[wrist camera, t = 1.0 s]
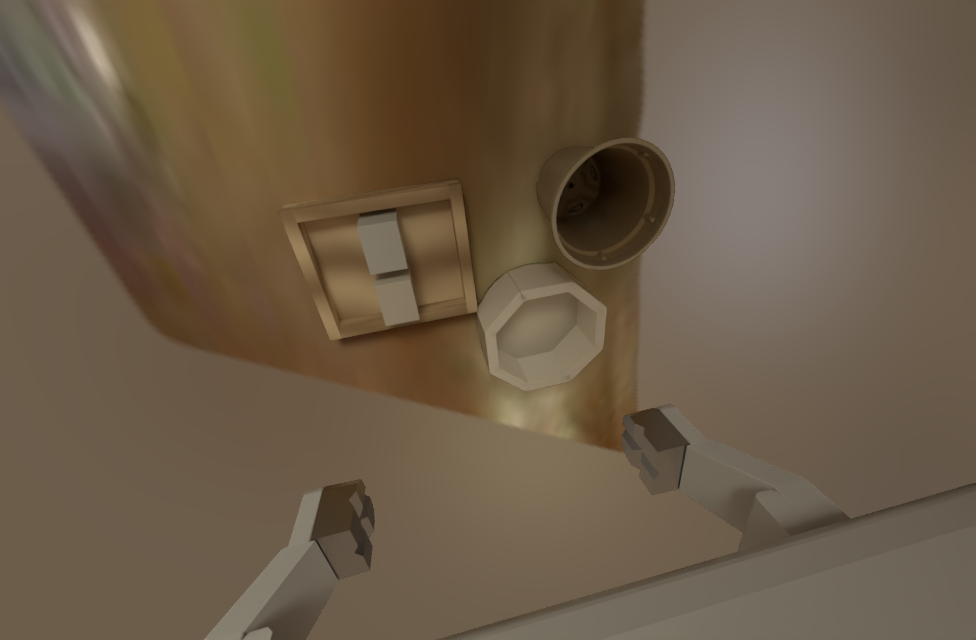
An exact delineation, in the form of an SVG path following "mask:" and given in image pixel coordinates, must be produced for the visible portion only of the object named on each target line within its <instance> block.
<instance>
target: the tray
mask: <svg viewBox="0 0 976 640" xmlns="http://www.w3.org/2000/svg"><path fill="white" fill-rule="evenodd" d="M390 209H396V210H397V214H398V218H399V222H400V227H401V231H402V235H403V240H404V244H405V248H406V253H407V264H408V263H409V266H410V270H411V274H412V278H413V283H414V287H415V291H416V296H417V300H418V308H419V316H420V320H416V321H410V322H405V323H400V324H395V325H390V326H386V325H385V321H384V318H383V315H382V311H381V308H380V305H379V301H378V298H377V295H376V291H375V288H374V281H375V274H374V275H370V271H369V268H368V265H367V261H366V258H365V255H364V251H363V248H362V245H361V241H360V238H359V235H358V231H357V228H356V226H357V223H358V219H359V216H360V214H364V213H371V212H377V211H383V210H390ZM278 213H279V215H280V218H281V220H282V223H283V225H284V228H285V230H286V233H287V235H288V237H289V240H290V242H291V245H292V247H293V250H294V252H295V255H296V257H297V259H298V262H299V264H300V267H301V269H302V272H303V274H304V277H305V279H306V282H307V284H308V286H309V289H310V291H311V294H312V296H313V299H314V301H315V304H316V306H317V309H318V311H319V313H320V316H321V318H322V321H323V323H324V326H325V328H326V331H327V333H328V336H329V338H330V340H336V339H341V338H346V337H351V336H356V335H361V334H366V333H372V332H377V331H382V330H387V329H392V328H397V327H402V326H407V325H412V324H417V323H422V322H427V321H432V320H437V319H443V318H448V317H453V316H458V315H463V314H468V313H473V312H478V308H477V301H476V293H475V285H474V278H473V270H472V263H471V255H470V248H469V240H468V233H467V225H466V218H465V210H464V202H463V195H462V187H461V183H460V182H459V181H458V179H453V180H446V181H439V182H432V183H426V184H419V185H412V186H406V187H399V188H392V189H386V190H379V191H372V192H366V193H359V194H352V195H345V196H339V197H332V198H325V199H319V200H312V201H305V202H299V203H292V204H285V205H284V206H283V207H282V208H281V209H280V210H279V211H278Z"/></svg>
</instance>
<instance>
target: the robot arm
mask: <svg viewBox="0 0 976 640" xmlns="http://www.w3.org/2000/svg"><path fill="white" fill-rule="evenodd" d="M623 426H624V427H625V428H626V430H625V432H624V433H623V434H622V445H623V449H624V452H625V454H626V457H627V458H628V460H629V462H630V463H631V465H633V466H634V467H636V468H638V469H640V478H641V480H642V481H643V483H644V484H645V486H646V487H647V489H648V490H649V492H650V493H651V495H655V494H660V493H664V492H668V491H672V490H677V489H679V491H681V492H682V493H683V494H685V495H686V496H688V497H689V498H691V499H692V500H694V501H696V502H697V503H699V504H700V505H702V506H703V507H705V508H706V509H708V510H709V511H711V512H712V513H714V514H716V515H717V516H718V517H720V518H721V519H723V520H725V521H726V522H727V523H729V524H730V525H732V526H734V527H735V528H737V529H738V530H740V531H741V532H743V535H742V538H741V541H740V544H739V548H738V552H735V553H732V554H728V555H725V556H722V557H718V558H715V559H711V560H708V561H704V562H701V563H698V564H694V565H691V566H687V567H684V568H681V569H677V570H674V571H670V572H667V573H663V574H660V575H656V576H653V577H650V578H646V579H643V580H639V581H636V582H632V583H629V584H626V585H622V586H619V587H615V588H612V589H608V590H605V591H601V592H598V593H595V594H591V595H588V596H584V597H581V598H577V599H574V600H570V601H567V602H564V603H560V604H557V605H553V606H550V607H546V608H543V609H540V610H536V611H533V612H529V613H526V614H522V615H519V616H516V617H512V618H509V619H506V620H502V621H498V622H495V623H492V624H488V625H485V626H482V627H478V628H474V629H471V630H468V631H464V632H461V633H457V634H454V635H450V636H447V637H444V638H440V639H437V640H976V483H972V484H968V485H965V486H962V487H958V488H955V489H952V490H948V491H944V492H941V493H937V494H934V495H931V496H927V497H924V498H920V499H917V500H914V501H910V502H907V503H903V504H900V505H897V506H893V507H889V508H886V509H883V510H879V511H876V512H872V513H869V514H865V515H862V516H859V517H855V518H852V519H851V518H850V517H848V516H847V515H846V514H845V513H844V512H842V510H840V509H839V508H838V507H837V506H836V505H835V504H833V503H832V502H831V501H830V500H829V499H828V498H826V496H824V495H823V494H822V493H821V492H819V490H817V488H815V487H814V486H813V485H812V484H811V483H810V482H808V481H807V480H806V479H805V478H803V477H800V476H798V475H796V474H793V473H791V472H788V471H786V470H784V469H782V468H779V467H777V466H774V465H772V464H770V463H767V462H765V461H762V460H760V459H758V458H755V457H753V456H751V455H748V454H746V453H744V452H741V451H739V450H737V449H734V448H732V447H730V446H727V445H725V444H722V443H720V442H718V441H715V440H713V439H711V440H707V439H706V438H705V437H704V436H703V435H702V434H701V433H700V432H699V431H698V430H697V429H696V428H695V427H694V426H693V425H692V424H691V423H690V422H689V421H688V419H686V418H685V416H684V415H683V414H682V413H681V412H680V411H679V410H678V409H677V408H676V407H675V406H674V405H671V404H668V405H663V406H659V407H656V408H651V409H647V410H643V411H639V412H635V413H631V414H627V415H625V416H624V418H623ZM374 523H375V520H374V508H373V504H372V501H371V499H370V497H369V496H367V495H365V485H364V483H363V481H362V479H358V480H354V481H349V482H344V483H340V484H335V485H330V486H326V487H322V488H318V489H313V490H308V491H307V492H306V493H305V495H304V496H303V499H302V502H301V506H300V509H299V513H298V516H297V519H296V522H295V526H294V529H293V532H292V536H291V539H290V542H289V546H288V547H286V548H283V549H282V550H281V551H280V552H279V553H278V554H277V556H276V557H275V558H274V559H273V560H272V561H271V563H270V564H269V565H268V566H267V567H266V568H265V569H264V571H263V572H262V573H261V574H260V575H259V577H258V578H257V579H256V580H255V581H254V582H253V583H252V585H251V586H250V587H249V588H248V589H247V590H246V591H245V593H244V594H243V595H242V596H241V597H240V598H239V600H238V601H237V602H236V603H235V604H234V605H233V607H232V608H231V609H230V610H229V611H228V612H227V614H226V615H225V616H224V617H223V618H222V619H221V621H220V622H219V623H218V624H217V625H216V626H215V628H214V629H213V630H212V631H211V632H210V634H209V635H208V636H207V637H206V638H205V639H204V640H306V638H307V636H308V635H309V633H310V631H311V629H312V628H313V626H314V624H315V623H316V621H317V619H318V617H319V616H320V614H321V612H322V610H323V609H324V607H325V605H326V604H327V602H328V600H329V598H330V597H331V595H332V593H333V591H334V590H335V588H336V586H337V584H338V583H339V579H343V578H346V577H350V576H353V575H356V574H360V573H363V572H366V571H370V566H371V556H372V544H371V542H370V540H369V537H370V536H371V534H372V533H373V531H374Z"/></svg>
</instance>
